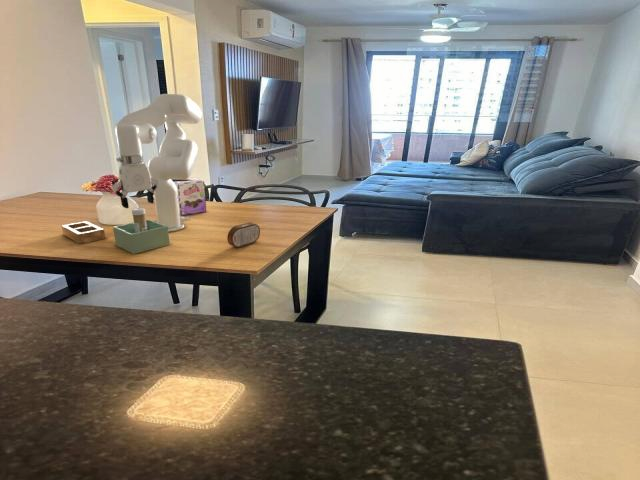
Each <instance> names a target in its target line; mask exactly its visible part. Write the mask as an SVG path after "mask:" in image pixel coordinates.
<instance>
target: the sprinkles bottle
mask: <svg viewBox="0 0 640 480" xmlns="http://www.w3.org/2000/svg"><path fill="white" fill-rule="evenodd" d="M131 214H132V217H133V218H132V219H133V223H134V227H135V233H138V232H142V231H147V225H146V220H147V219H146V209H145V208H143V207H135V208H133V209H131Z"/></svg>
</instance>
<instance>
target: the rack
mask: <svg viewBox="0 0 640 480" xmlns="http://www.w3.org/2000/svg"><path fill="white" fill-rule="evenodd" d="M61 231H62V235H63V236H65V237H67V238H69V239H71V240H72V241H74V242H75V243H77V244H80V245H83V244H87V243H93V242H96V241H101V240H105V239H106V233H105V229H104V228H102V227H100V226H99V225H98V226H97V225H96V224H93V223H91V222H89V221H87V220H84V221H80V222H74V223H73V222H72V223H68V224H62V225H61Z"/></svg>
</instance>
